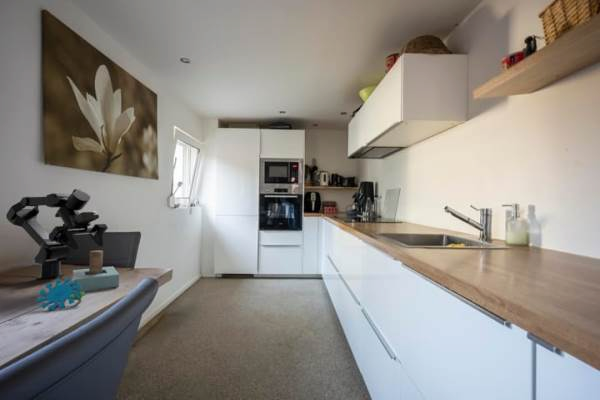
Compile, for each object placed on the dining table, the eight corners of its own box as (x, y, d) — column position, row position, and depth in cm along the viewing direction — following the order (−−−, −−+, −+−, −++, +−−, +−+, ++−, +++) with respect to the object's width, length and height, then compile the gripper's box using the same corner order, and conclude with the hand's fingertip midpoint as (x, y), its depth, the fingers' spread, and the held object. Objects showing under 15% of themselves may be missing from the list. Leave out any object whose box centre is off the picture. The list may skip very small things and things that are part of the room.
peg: (87, 284, 104) (88, 251, 104) (99, 281, 107) (101, 250, 107) (90, 286, 101) (91, 252, 101) (102, 284, 104) (104, 251, 105)
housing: (72, 281, 106) (72, 270, 106) (112, 277, 114) (113, 266, 114) (73, 292, 94) (74, 279, 94) (118, 286, 102) (119, 274, 102)
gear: (28, 306, 76) (49, 275, 84) (34, 315, 80) (53, 284, 87) (74, 309, 79) (90, 278, 87) (78, 318, 83) (93, 288, 90)
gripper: (55, 204, 98) (76, 236, 95) (105, 204, 116) (124, 232, 113) (39, 224, 100) (58, 257, 97) (91, 222, 118) (109, 249, 115)
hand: (90, 248), depth 105 cm, fingers open, 9 cm apart
